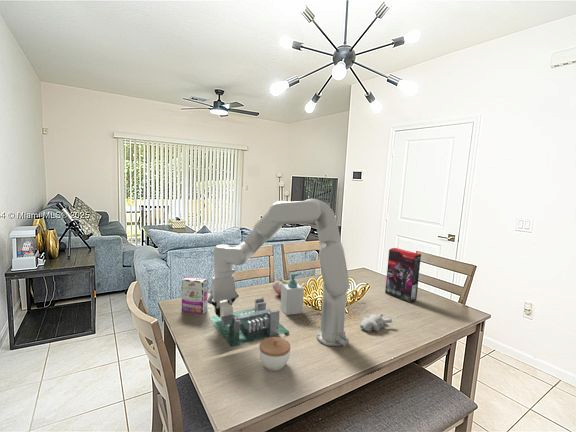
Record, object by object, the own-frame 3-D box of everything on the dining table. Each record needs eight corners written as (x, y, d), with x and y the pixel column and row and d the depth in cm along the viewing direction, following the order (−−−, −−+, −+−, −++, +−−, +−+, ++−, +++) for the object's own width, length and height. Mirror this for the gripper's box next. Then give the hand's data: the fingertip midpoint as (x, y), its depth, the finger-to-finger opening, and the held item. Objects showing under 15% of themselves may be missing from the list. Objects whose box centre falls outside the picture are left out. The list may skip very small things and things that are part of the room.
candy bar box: (207, 311, 145) (208, 278, 143) (202, 316, 140) (203, 282, 138) (187, 308, 148) (187, 275, 146) (181, 312, 143) (181, 279, 141)
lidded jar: (288, 356, 112) (290, 332, 111) (289, 375, 101) (291, 349, 100) (259, 356, 112) (260, 332, 110) (257, 374, 101) (258, 348, 100)
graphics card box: (383, 293, 181) (388, 248, 177) (390, 291, 185) (395, 247, 181) (410, 303, 167) (415, 255, 164) (417, 300, 171) (422, 253, 168)
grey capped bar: (272, 315, 130) (272, 310, 130) (224, 326, 119) (224, 320, 119) (268, 312, 133) (268, 306, 133) (221, 322, 122) (221, 316, 122)
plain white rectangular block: (232, 320, 128) (232, 307, 127) (223, 323, 126) (223, 309, 125) (222, 309, 138) (222, 296, 137) (214, 311, 136) (214, 298, 135)
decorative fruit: (291, 295, 171) (292, 277, 170) (284, 299, 164) (284, 281, 163) (278, 291, 176) (278, 274, 174) (269, 295, 169) (270, 278, 168)
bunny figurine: (355, 318, 137) (378, 308, 145) (355, 328, 138) (378, 318, 146) (371, 327, 130) (394, 316, 137) (371, 338, 130) (394, 326, 138)
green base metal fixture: (289, 333, 128) (290, 309, 127) (230, 349, 115) (231, 322, 113) (260, 308, 151) (261, 287, 150) (209, 319, 138) (209, 296, 136)
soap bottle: (303, 313, 149) (305, 275, 146) (286, 315, 146) (288, 276, 143) (296, 305, 157) (298, 270, 154) (280, 307, 154) (281, 271, 151)
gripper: (238, 268, 137) (238, 307, 139) (201, 274, 128) (201, 315, 130) (244, 273, 131) (244, 313, 133) (206, 279, 122) (206, 322, 124)
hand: (223, 314), depth 132 cm, fingers closed on plain white rectangular block, 4 cm apart
